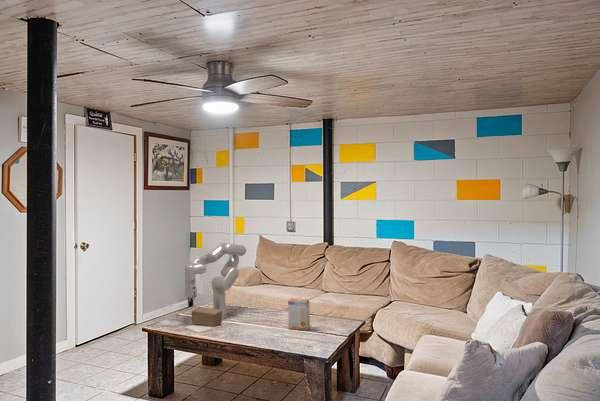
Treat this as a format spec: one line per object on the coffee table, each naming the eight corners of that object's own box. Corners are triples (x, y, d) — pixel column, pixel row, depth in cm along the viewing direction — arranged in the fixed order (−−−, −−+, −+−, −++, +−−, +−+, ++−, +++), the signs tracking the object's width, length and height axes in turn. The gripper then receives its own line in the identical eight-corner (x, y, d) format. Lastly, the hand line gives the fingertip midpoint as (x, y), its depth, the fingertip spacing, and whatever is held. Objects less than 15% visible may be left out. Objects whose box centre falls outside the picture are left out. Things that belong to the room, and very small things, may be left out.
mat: (205, 322, 327) (205, 321, 327) (219, 327, 314) (219, 326, 314) (184, 327, 314) (184, 327, 314) (198, 333, 302) (198, 332, 302)
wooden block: (191, 323, 319) (215, 327, 313) (191, 310, 318) (215, 313, 312) (198, 319, 328) (222, 322, 322) (198, 306, 328) (222, 309, 321)
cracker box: (309, 328, 309) (309, 299, 308) (307, 331, 303) (306, 301, 303) (291, 326, 313) (290, 297, 313) (288, 329, 307) (287, 299, 307)
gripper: (200, 282, 320) (200, 307, 320) (189, 279, 330) (189, 304, 330) (191, 284, 314) (191, 309, 315) (180, 281, 325) (180, 305, 325)
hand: (190, 306), depth 323 cm, fingers closed
